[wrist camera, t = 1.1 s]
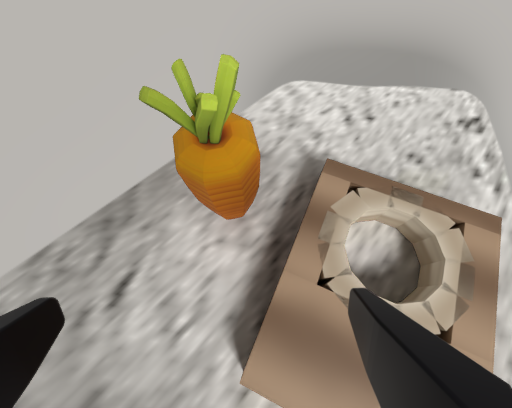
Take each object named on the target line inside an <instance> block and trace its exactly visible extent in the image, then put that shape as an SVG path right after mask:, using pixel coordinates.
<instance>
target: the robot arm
mask: <svg viewBox="0 0 512 408" xmlns="http://www.w3.org/2000/svg"><path fill="white" fill-rule="evenodd" d="M348 316H349V320H350V323H351V326H352V329H353V332H354V336H355V339H356V342H357V345H358V349H359V352H360V355H361V358H362V361H363V364H364V367H365V370H366V373H367V376H368V378H369V381H370V383H371V386H372V388H373V390H374V393H375V395H376V397H377V400H378V402H379V405H380V407H381V408H512V388H511V387H510V385H509V384H508V383H506V382H505V381H503V380H502V379H500V378H499V377H497V376H496V375H494V374H493V373H491V372H490V371H488V370H487V369H485V368H484V367H482V366H481V365H479V364H478V363H476V362H475V361H473V360H472V359H470V358H469V357H468V356H466V355H465V354H463V353H462V352H460V351H459V350H457V349H456V348H454V347H453V346H451V345H450V344H448V343H447V342H445V341H444V340H442V339H441V338H439V337H438V336H436V335H435V334H433V333H432V332H430V331H429V330H427V329H426V328H424V327H423V326H422V325H420V324H419V323H417V322H416V321H414V320H413V319H411V318H410V317H408V316H407V315H405V314H404V313H402V312H401V311H399V310H398V309H396V308H395V307H393V306H392V305H390V304H389V303H387V302H386V301H384V300H383V299H381V298H380V297H378V296H377V295H376V294H374V293H373V292H371V291H370V290H368V289H366V288H352V289H351V290H350V295H349V304H348ZM64 323H65V317H64V315H63V312H62V309H61V307H60V304H59V302H58V300H57V299H56V298H53V297H49V298H39V299H36V300H34V301H32V302H30V303H28V304H26V305H23V306H21V307H19V308H17V309H15V310H13V311H11V312H8V313H6V314H4V315H2V316H0V408H13V406H14V405H15V403H16V402H17V401H18V399H19V398H20V396H21V395H22V393H23V392H24V390H25V389H26V387H27V386H28V384H29V383H30V381H31V380H32V378H33V377H34V375H35V373H36V372H37V370H38V368H39V367H40V365H41V363H42V362H43V360H44V358H45V357H46V355H47V353H48V352H49V350H50V348H51V346H52V345H53V343H54V341H55V340H56V338H57V336H58V335H59V333H60V331H61V329H62V328H63V326H64Z"/></svg>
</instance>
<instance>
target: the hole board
mask: <svg viewBox="0 0 512 408" xmlns="http://www.w3.org/2000/svg"><path fill="white" fill-rule="evenodd" d="M371 220H376V221H379V222H382V223H384V224H387V225H390V226H392V227H395V228H397V229H398V230H399V231H400V232H401V233H402V234H403V235H404V236H405V237H406V238H407V239H408V240H409V241H410V242H411V243H412V244H413V247H414V249H415V252H416V255H417V257H418V260H419V263H420V266H421V268H420V273H419V279H418V284H417V288H416V289H415V290H414V291H413V292H412V293H411V294H410V295H408V296H407V297H406V298H405V299H404V300H403V301H402V302H398V303H393V302H391V301H388V300H386V299H384V298H381V297H380V298H381V299H383V300H384V301H386V302H387V303H389V304H390V305H392V306H393V307H395V308H396V309H398V310H399V311H401V312H402V313H404V314H405V315H407V316H408V317H410V318H411V319H413V320H414V321H416V322H417V323H419V324H420V325H422V326H423V327H424V328H426V329H427V330H429V331H430V332H432V333H433V334H435V335H436V336H438V337H439V338H441V339H442V340H444V341H445V342H447V343H448V344H450V345H451V346H453V347H454V348H456V349H457V350H459V351H460V352H462V353H463V354H465V355H466V356H468V357H469V358H470V359H472V360H473V361H475V362H476V363H478V364H479V365H481V366H482V367H484V368H485V369H487V370H488V371H490V372H491V373H493V364H494V347H495V329H496V311H497V294H498V276H499V259H500V241H501V223H502V218H501V217H498V216H495V215H492V214H489V213H486V212H483V211H480V210H477V209H474V208H471V207H468V206H466V205H463V204H460V203H457V202H454V201H451V200H448V199H445V198H442V197H439V196H436V195H433V194H430V193H427V192H424V191H421V190H419V189H416V188H413V187H410V186H407V185H404V184H401V183H398V182H395V181H392V180H389V179H386V178H383V177H380V176H377V175H375V174H372V173H369V172H366V171H363V170H360V169H357V168H354V167H351V166H348V165H345V164H342V163H339V162H336V161H333V160H330V159H328V158H327V161H326V163H325V165H324V167H323V170H322V172H321V174H320V177H319V179H318V182H317V185H316V187H315V190H314V192H313V195H312V197H311V200H310V202H309V205H308V207H307V210H306V213H305V215H304V218H303V220H302V223H301V225H300V228H299V230H298V233H297V236H296V238H295V241H294V243H293V246H292V248H291V251H290V253H289V256H288V259H287V261H286V264H285V266H284V269H283V271H282V274H281V276H280V279H279V282H278V284H277V287H276V289H275V292H274V294H273V297H272V299H271V302H270V304H269V307H268V310H267V312H266V315H265V317H264V320H263V322H262V325H261V327H260V330H259V333H258V335H257V338H256V340H255V343H254V345H253V348H252V350H251V353H250V356H249V358H248V361H247V363H246V366H245V368H244V371H243V374H242V377H241V380H240V384H242V385H243V386H245V387H247V388H249V389H250V390H252V391H254V392H256V393H258V394H259V395H261V396H263V397H265V398H267V399H268V400H270V401H272V402H274V403H276V404H277V405H279V406H281V407H283V408H381V407H380V405H379V402H378V400H377V397H376V395H375V393H374V390H373V388H372V386H371V383H370V381H369V378H368V376H367V373H366V370H365V367H364V364H363V361H362V358H361V355H360V352H359V349H358V345H357V342H356V339H355V336H354V332H353V329H352V326H351V323H350V320H349V316H348V304H349V295H350V290H351V289H352V288H366V287H365V286H364V285H363V284H362V283H361V282H360V280H359V279H358V278H357V277H356V276H355V275H354V273H353V272H352V271H351V269H350V265H349V261H348V257H347V253H346V250H345V246H344V244H345V241H346V238H347V235H348V232H349V228H350V226H351V225H352V224H353V223H355V222H362V221H371ZM319 281H325V282H324V283H323V284H321V285H320V286H319V285H317V282H319ZM366 289H367V288H366ZM378 297H379V296H378Z"/></svg>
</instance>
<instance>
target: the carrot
mask: <svg viewBox="0 0 512 408" xmlns="http://www.w3.org/2000/svg"><path fill="white" fill-rule="evenodd" d="M238 68H239V63H238V62H237V61H236V60H235V59H234V58H233V57H232V56H230V55H224V54H222V55H221V58H220V63H219V67H218V71H217V77H216V82H215V88H214V95H213V94H211V93H206V94H204V93H199V94H197V95H196V93H195V90H194V87H193V85H192V81H191V78H190V76H189V74H188V71H187V69H186V67H185V65H184V63H183V61H182V59H178V60H176V61H175V62H174V63H173V65H172V71H173V73H174V76H175V78H176V80H177V82H178V85H179V87H180V89H181V91H182V93H183V96H184V98H185V100H186V102H187V105H188V106H189V108H190V110H191V112H192V114H193V115H192V116H191V117H189V116H188V115H187V114H186V113H185V112H184V111H183V110H182V109H181V108H180V107H179V106H177V104H175V103H174V102H173V101H172V100H171V99H169V98H168V97H166V96H164V95H163V94H161V93H160V92H158V91H156V90H154V89H151V88H149V87H145V86H143V87H142V89H141V91H140V95H139V100H141V101H142V102H144V103H145V104H147V105H149V106H150V107H152V108H154V109H156V110H158V111H160V112H162V113H163V114H165V115H166V116H168V117H169V118H170V119H172V120H173V121H175V122H176V123H178V124H179V125H181V126H182V127H181V128H180V129H179V130H178V131H177V132H176V133H175V134H174V135H173V143H174V152H175V162H176V169H177V172H178V174H179V175H180V176H181V178H182V179H183V181H184V182H185V184H186V185H187V186H188V188H189V189H190V190H191V192H192V193H193V194H194V195H195V197H196V198H197V199H198V200H199V201H200V202H201V203H203V204H204V205H205V206H206V207H208V208H209V209H211V210H212V211H214V212H215V213H217V214H219V215H220V216H222V217H223V218H225V219H235V218H239V217H242V216H244V214H245V213H246V211H247V210H248V209H249V207H250V206H251V204H252V203H253V201H254V198H255V196H256V193H257V190H258V187H259V177H260V152H259V148H258V145H257V141H256V137H255V134H254V130H253V126H252V124H251V122H250V121H249V120H247V119H245V118H243V117H240V116H238V115H236V114H234V113H232V110H233V108H234V106H235V104H236V103H237V101H238V99H239V97H240V93H239V92H237V91H236V90H234V89H235V84H236V79H237V73H238Z"/></svg>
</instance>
